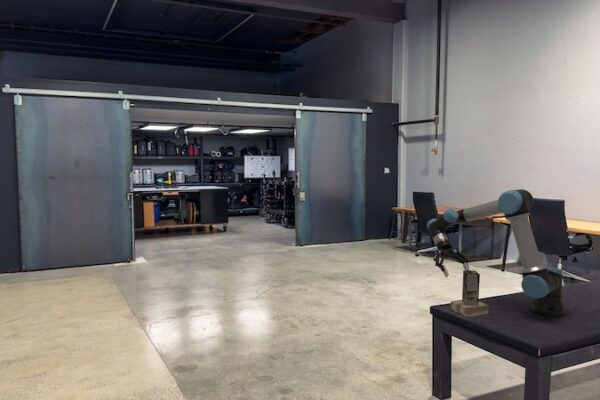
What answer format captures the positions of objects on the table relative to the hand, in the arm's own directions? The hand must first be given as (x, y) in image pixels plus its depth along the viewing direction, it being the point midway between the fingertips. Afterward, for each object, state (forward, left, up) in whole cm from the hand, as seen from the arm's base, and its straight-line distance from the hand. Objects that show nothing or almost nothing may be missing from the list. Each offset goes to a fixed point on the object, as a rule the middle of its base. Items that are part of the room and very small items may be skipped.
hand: (458, 275), depth 258 cm
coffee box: (-11, +3, -12) cm, 17 cm away
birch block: (-11, +3, -17) cm, 21 cm away
